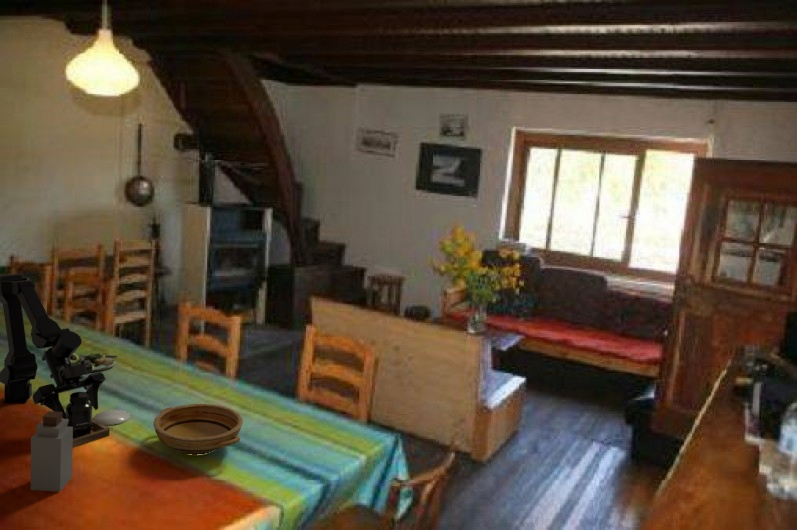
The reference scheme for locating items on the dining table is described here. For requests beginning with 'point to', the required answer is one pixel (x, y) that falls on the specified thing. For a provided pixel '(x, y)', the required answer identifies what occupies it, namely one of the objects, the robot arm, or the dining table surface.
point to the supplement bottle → (79, 414)
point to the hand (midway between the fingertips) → (81, 413)
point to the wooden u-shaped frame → (92, 434)
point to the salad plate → (94, 360)
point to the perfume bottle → (51, 453)
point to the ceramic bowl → (198, 427)
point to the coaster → (112, 417)
